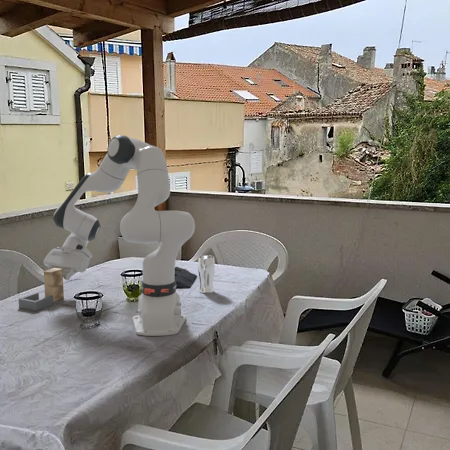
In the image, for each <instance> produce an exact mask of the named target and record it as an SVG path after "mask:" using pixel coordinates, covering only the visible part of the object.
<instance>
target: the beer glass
mask: <svg viewBox="0 0 450 450" xmlns="http://www.w3.org/2000/svg"><path fill="white" fill-rule="evenodd" d="M215 265H216V264H215V256H214V255H212V254H211V255H210V254H207V255H206V254H204V255H199V256H198V265H197V268H198V269H197V271H198V277H199V293H201V294H212V293H214V290H215V289H214V285H213V284H214V283H213V282H214V277H215V267H216V266H215Z"/></svg>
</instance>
